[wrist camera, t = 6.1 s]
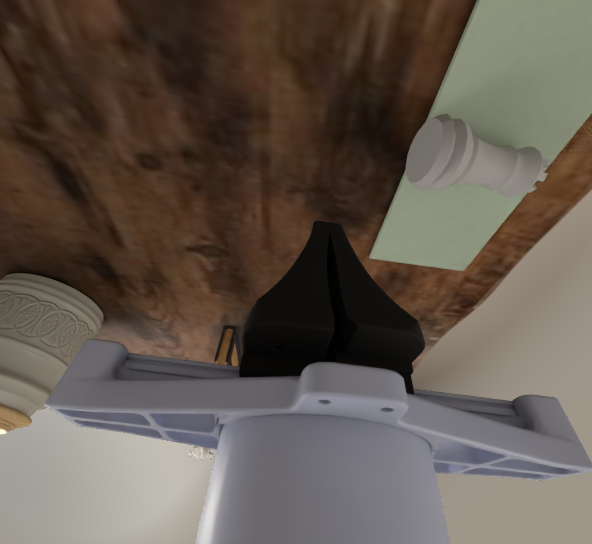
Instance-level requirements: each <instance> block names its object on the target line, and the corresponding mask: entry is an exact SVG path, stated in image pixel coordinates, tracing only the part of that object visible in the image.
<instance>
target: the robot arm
mask: <svg viewBox="0 0 592 544" xmlns="http://www.w3.org/2000/svg"><path fill="white" fill-rule="evenodd" d="M242 341H243V355H242V359H241V364H240V367H237V366H229V365H221V364H213V363H205V362H197V361H189V360H181V359H173V358H165V357H157V356H149V355H141V354H133V353H128V350H127V348H126V347H125V346H124V345H123V344H121V343H118V342H113V341H105V340H98V339H87V340H86V341H85V343H84V344H83V346H82V347H81V349H80V350H79V352H78V353H77V355H76V356H75V358H74V359H73V361H72V362H71V364H70V365H69V367H68V368H67V370H66V371H65V373H64V374H63V376H62V378H61V379H60V381H59V382H58V384H57V385H56V387H55V388H54V390H53V391H52V393H51V394H50V396H49V397H48V399H47V400H46V402H45V406H46V407H48V408H49V409H51V410H53V411H54V412H56V413H58V414H59V415H61V416H63V417H64V418H66V419H68V420H69V421H71V422H72V423H74V424H76V425H77V426H80V427H89V428H96V429H104V430H111V431H117V432H123V433H129V434H135V435H141V436H146V437H152V438H157V439H162V440H167V441H173V442H178V443H184V444H189V445H194V446H199V447H205V448H210V449H216V450H217V451H216V456H215V459H214V464H213V468H212V472H211V477H210V481H209V485H208V489H207V494H206V498H205V502H204V507H203V511H202V515H201V519H200V523H199V528H198V532H197V537H196V541H195V544H450V540H449V535H448V530H447V525H446V521H445V516H444V511H443V506H442V502H441V497H440V492H439V488H438V484H437V479H436V474H435V473H443V474H464V475H481V476H499V477H510V478H522V479H531V480H540V481H542V480H548V479H554V478H559V477H565V476H570V475H576V474H582V473H587V472H592V462H591V461H590V459H589V457H588V455H587V453H586V451H585V449H584V448H583V446H582V444H581V442H580V440H579V438H578V436H577V435H576V433H575V431H574V429H573V427H572V425H571V423H570V421H569V420H568V418H567V416H566V414H565V412H564V410H563V408H562V407H561V405H560V403H559V401H558V399H556V398H554V397H546V396H539V395H522V396H519V397H517V398H516V399H514V400H513V401H506V400H498V399H490V398H483V397H475V396H466V395H458V394H450V393H443V392H435V391H427V390H419V389H413V384H412V380H411V374H412V373H413V367H412V362H413V361H414V360H415V359H416V358H417V357H418V356H419V355H420V354H421V353H422V351H423V350H424V348H425V342H424V338H423V334H422V331H421V328H420V326H419V323H418V321H417V320H416V319H415V318H414V317H412V316H411V315H410V314H408V313H407V312H406V311H405V310H403V309H402V308H401V307H400V306H398V305H397V304H396V303H395V302H394V301H393V300H392V299H391V298H390V297H389V296H388V295H387V294H386V293H385V292H384V291H383V290H382V289H381V288H380V287H379V286H378V285H377V284H376V283H375V282H374V280H373V279H372V278H371V277H370V275H369V274H368V273H367V271H366V270H365V268H364V267H363V265H362V264H361V262H360V261H359V259H358V257H357V256H356V254H355V252H354V250H353V248H352V247H351V245H350V243H349V241H348V239H347V236H346V234H345V232H344V230H343V227H342V225H341V224H336V223H329V222H322V221H315V222H314V223H313V228H312V233H311V235H310V238H309V240H308V242H307V244H306V246H305V248H304V249H303V251H302V253H301V254H300V256H299V257H298V259H297V260H296V262H295V263H294V265H293V266H292V267H291V268H290V270H289V271H288V272H287V273H286V274H285V276H284V277H283V278H282V279H281V280H280V281H279V282H278V283H277V284H276V285H275V286H274V287H273V288H271V289H270V290H269V291H268V292H267V293H265V294H264V295H263V296H262V297H260V298H259V299H258V300H257V302H256V303H255V305H254V306H253V308H252V310H251V312H250V314H249V315H248V318H247V320H246V323H245V326H244V331H243V336H242Z"/></svg>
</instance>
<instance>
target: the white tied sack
mask: <svg viewBox="0 0 592 544" xmlns="http://www.w3.org/2000/svg"><path fill="white" fill-rule="evenodd" d="M189 456H194V457H197V458H196V460H202V461H203V460H204V458H211V459H212V458H214V456H213V453H211V452H210V448H205V447H199V446H194V448H193V450H192V451H190V452H189Z"/></svg>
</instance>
